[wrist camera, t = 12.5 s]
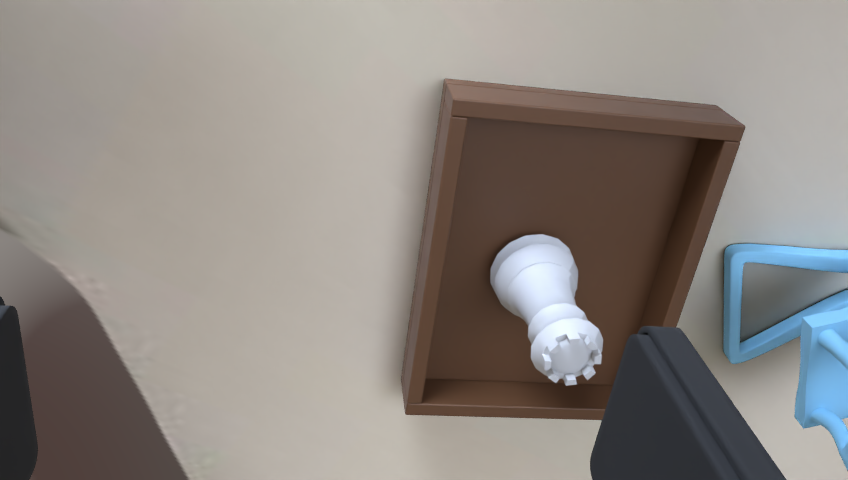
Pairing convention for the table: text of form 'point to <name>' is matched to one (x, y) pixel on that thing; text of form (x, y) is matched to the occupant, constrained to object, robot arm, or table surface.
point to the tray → (556, 235)
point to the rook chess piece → (547, 306)
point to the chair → (798, 334)
